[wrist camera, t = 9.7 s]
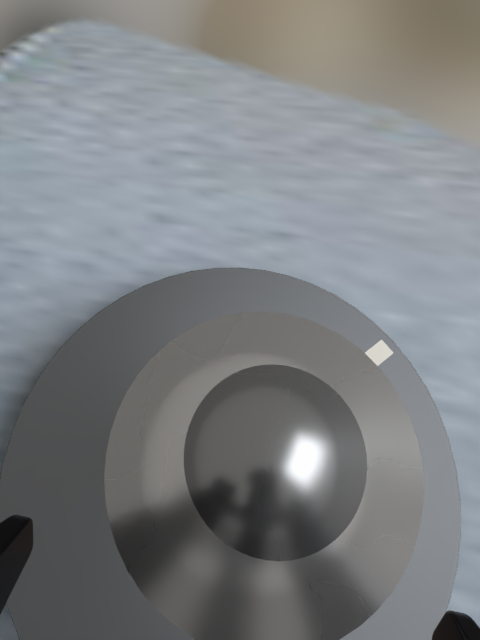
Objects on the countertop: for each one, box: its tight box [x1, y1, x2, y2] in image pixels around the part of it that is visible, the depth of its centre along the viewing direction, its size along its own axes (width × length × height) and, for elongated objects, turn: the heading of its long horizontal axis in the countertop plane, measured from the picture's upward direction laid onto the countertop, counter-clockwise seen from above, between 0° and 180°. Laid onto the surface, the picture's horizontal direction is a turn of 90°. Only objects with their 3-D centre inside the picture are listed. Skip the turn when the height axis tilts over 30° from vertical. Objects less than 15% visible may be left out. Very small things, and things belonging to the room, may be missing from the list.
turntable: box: [0, 268, 461, 640], centre depth 16 cm, size 18×18×1 cm
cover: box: [104, 312, 424, 640], centre depth 10 cm, size 8×8×10 cm
